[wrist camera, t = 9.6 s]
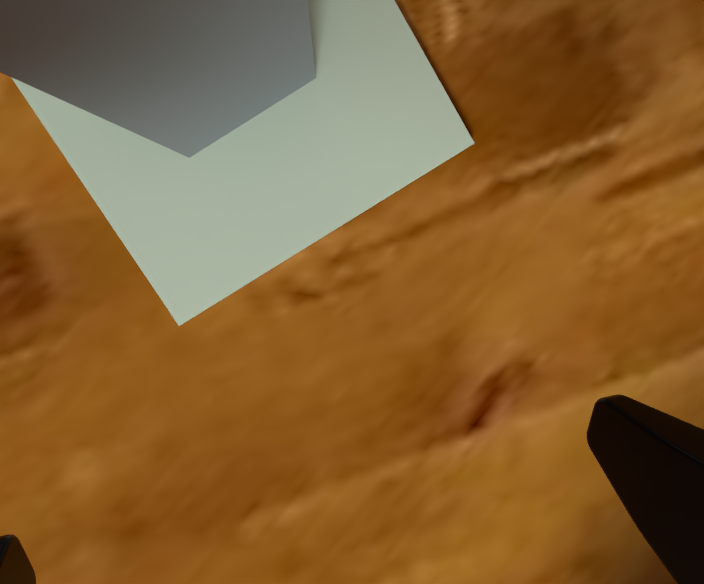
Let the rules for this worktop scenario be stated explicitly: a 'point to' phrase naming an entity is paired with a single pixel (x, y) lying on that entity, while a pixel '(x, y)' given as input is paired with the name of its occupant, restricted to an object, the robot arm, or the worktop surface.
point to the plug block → (161, 60)
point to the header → (269, 160)
